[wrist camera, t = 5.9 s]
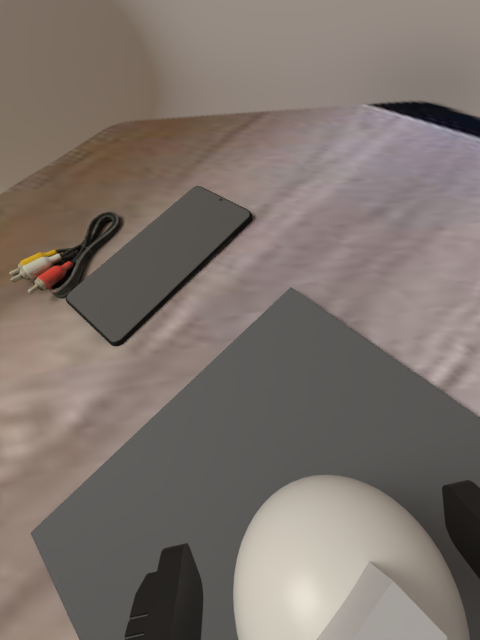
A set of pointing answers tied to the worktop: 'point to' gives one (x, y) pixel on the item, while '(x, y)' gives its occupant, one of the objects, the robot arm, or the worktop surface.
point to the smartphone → (157, 263)
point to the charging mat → (258, 465)
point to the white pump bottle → (342, 569)
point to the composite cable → (65, 260)
